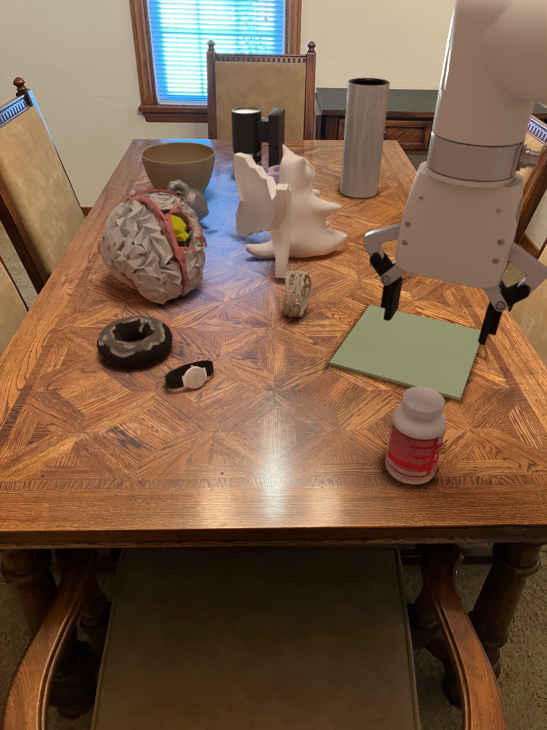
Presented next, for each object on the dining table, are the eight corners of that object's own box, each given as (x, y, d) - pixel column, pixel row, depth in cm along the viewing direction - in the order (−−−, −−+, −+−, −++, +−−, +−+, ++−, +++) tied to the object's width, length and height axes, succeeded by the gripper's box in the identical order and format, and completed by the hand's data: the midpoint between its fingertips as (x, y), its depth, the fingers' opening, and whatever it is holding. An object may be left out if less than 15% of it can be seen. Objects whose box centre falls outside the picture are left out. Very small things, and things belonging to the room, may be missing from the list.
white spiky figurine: (365, 268, 116) (377, 161, 104) (268, 287, 109) (268, 175, 97) (312, 225, 135) (316, 130, 122) (226, 238, 128) (221, 140, 116)
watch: (174, 399, 82) (172, 379, 80) (159, 383, 85) (156, 363, 83) (220, 380, 85) (219, 360, 83) (204, 365, 89) (203, 345, 86)
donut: (176, 367, 88) (174, 346, 86) (97, 377, 86) (92, 355, 84) (171, 328, 97) (169, 307, 95) (100, 336, 95) (95, 315, 93)
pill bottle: (438, 488, 68) (455, 418, 62) (386, 484, 69) (397, 414, 62) (432, 452, 73) (447, 383, 67) (383, 448, 74) (394, 380, 67)
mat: (483, 333, 96) (484, 330, 96) (459, 401, 82) (460, 398, 81) (369, 307, 103) (369, 304, 103) (328, 365, 89) (329, 362, 88)
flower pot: (133, 206, 144) (126, 157, 137) (170, 184, 158) (165, 139, 151) (196, 216, 139) (192, 166, 132) (229, 193, 152) (227, 146, 145)
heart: (216, 233, 130) (211, 177, 124) (175, 238, 127) (168, 182, 122) (206, 224, 138) (200, 173, 133) (167, 229, 136) (160, 176, 130)
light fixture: (237, 171, 168) (235, 105, 158) (284, 173, 166) (285, 107, 156) (229, 181, 160) (227, 113, 150) (278, 184, 158) (278, 115, 148)
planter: (337, 197, 150) (345, 84, 135) (342, 184, 158) (350, 76, 143) (376, 200, 149) (388, 85, 133) (378, 187, 157) (391, 78, 141)
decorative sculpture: (128, 336, 109) (156, 292, 92) (70, 244, 109) (87, 184, 92) (205, 298, 119) (243, 252, 102) (151, 214, 119) (180, 155, 102)
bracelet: (279, 323, 99) (279, 282, 94) (289, 301, 105) (290, 261, 100) (302, 326, 98) (303, 285, 93) (311, 304, 104) (313, 264, 99)
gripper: (583, 160, 49) (527, 329, 59) (387, 133, 55) (367, 291, 65) (579, 186, 43) (518, 368, 53) (362, 153, 49) (344, 322, 59)
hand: (435, 326), depth 59 cm, fingers open, 9 cm apart
